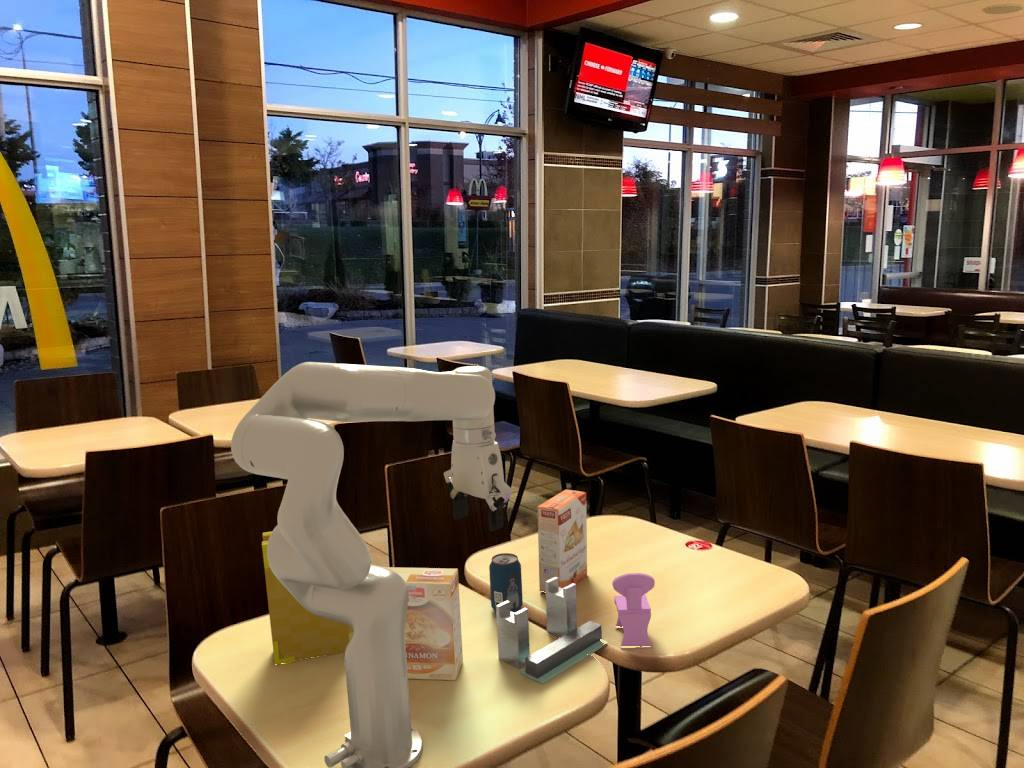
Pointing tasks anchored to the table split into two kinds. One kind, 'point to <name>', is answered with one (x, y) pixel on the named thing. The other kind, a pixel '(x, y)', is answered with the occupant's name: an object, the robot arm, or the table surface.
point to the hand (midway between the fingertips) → (478, 523)
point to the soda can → (506, 581)
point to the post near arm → (512, 634)
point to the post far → (560, 607)
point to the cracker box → (562, 538)
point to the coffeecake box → (432, 623)
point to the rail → (562, 649)
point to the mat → (566, 663)
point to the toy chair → (633, 607)
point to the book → (299, 624)
